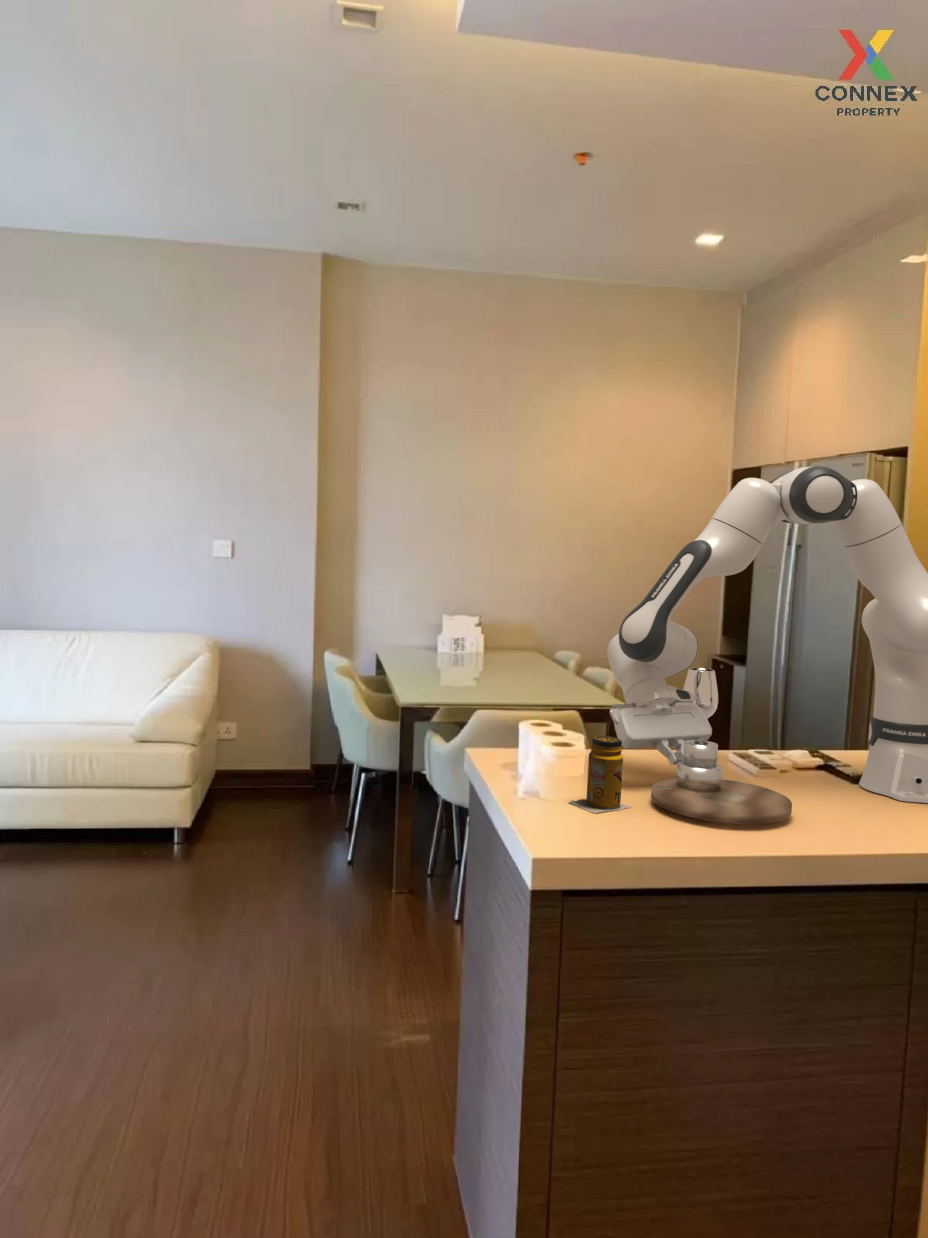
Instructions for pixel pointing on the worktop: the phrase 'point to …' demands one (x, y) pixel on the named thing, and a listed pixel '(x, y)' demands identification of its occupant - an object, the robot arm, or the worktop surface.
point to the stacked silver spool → (699, 767)
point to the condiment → (604, 776)
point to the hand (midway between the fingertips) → (679, 762)
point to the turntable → (724, 802)
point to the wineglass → (703, 689)
